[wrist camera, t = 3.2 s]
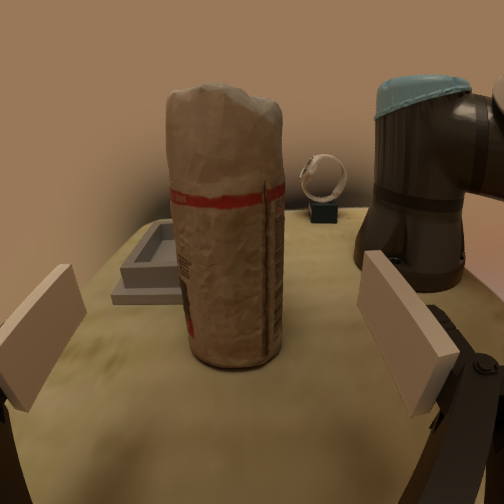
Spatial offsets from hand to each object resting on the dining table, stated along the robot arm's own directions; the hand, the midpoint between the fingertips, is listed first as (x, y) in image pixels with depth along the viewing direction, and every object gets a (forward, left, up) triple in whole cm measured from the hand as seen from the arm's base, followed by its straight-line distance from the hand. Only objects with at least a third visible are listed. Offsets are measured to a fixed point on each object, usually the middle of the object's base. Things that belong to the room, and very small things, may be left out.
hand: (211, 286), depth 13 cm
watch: (-14, -40, -11) cm, 44 cm away
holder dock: (+5, -24, -11) cm, 27 cm away
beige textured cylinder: (0, -10, -11) cm, 15 cm away
